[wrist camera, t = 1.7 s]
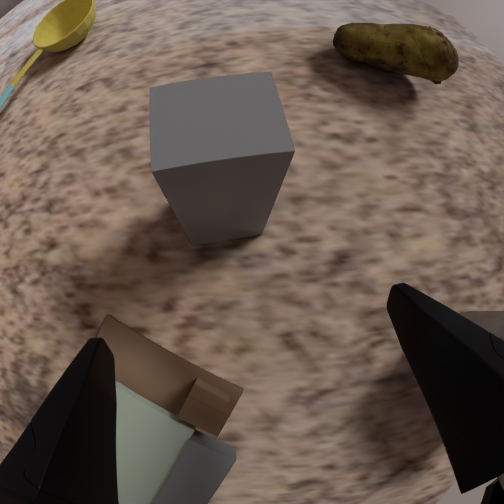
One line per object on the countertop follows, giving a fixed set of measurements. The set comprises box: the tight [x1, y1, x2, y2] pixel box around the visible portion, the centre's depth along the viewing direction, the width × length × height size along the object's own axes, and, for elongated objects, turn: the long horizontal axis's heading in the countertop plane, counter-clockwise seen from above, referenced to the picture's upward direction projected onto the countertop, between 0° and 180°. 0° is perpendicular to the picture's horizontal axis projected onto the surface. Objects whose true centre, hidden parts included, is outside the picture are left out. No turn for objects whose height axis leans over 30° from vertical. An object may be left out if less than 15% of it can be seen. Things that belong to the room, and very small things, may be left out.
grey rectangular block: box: [150, 72, 295, 246], centre depth 16 cm, size 4×5×12 cm
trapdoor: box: [115, 380, 236, 504], centre depth 14 cm, size 10×9×2 cm
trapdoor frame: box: [97, 314, 244, 439], centre depth 16 cm, size 15×11×6 cm
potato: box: [333, 23, 458, 84], centre depth 23 cm, size 8×13×8 cm, turn 60°
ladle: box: [0, 0, 96, 109], centre depth 23 cm, size 9×26×6 cm, turn 154°
